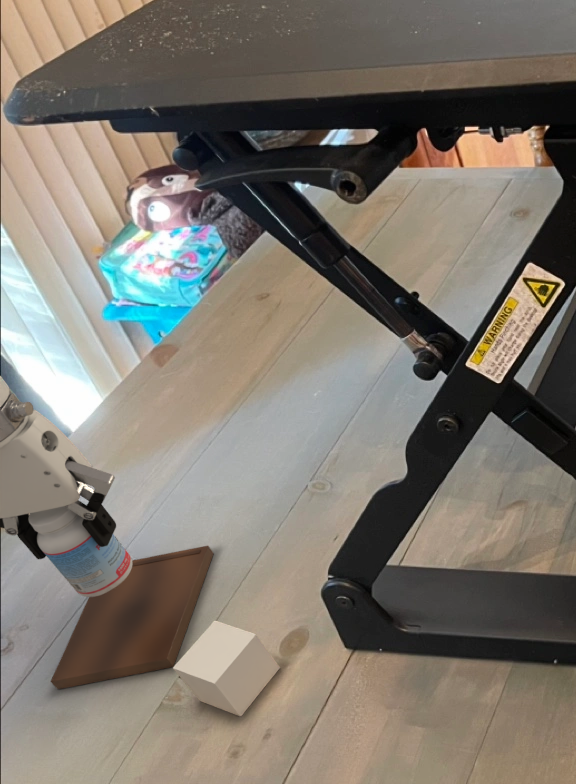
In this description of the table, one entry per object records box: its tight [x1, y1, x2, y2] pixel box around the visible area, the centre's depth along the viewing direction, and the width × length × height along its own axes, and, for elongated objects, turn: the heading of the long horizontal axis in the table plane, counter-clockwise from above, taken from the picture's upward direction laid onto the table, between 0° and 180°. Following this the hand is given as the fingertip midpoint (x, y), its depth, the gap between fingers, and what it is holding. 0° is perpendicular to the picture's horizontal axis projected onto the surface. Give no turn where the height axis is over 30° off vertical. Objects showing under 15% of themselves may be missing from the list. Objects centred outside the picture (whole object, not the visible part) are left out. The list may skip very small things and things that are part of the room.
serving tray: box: [50, 545, 214, 690], centre depth 121 cm, size 13×16×2 cm
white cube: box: [172, 620, 281, 717], centre depth 110 cm, size 6×6×6 cm
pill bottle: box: [28, 506, 133, 598], centre depth 114 cm, size 6×6×11 cm
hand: (77, 541), depth 114 cm, fingers closed on pill bottle, 6 cm apart
